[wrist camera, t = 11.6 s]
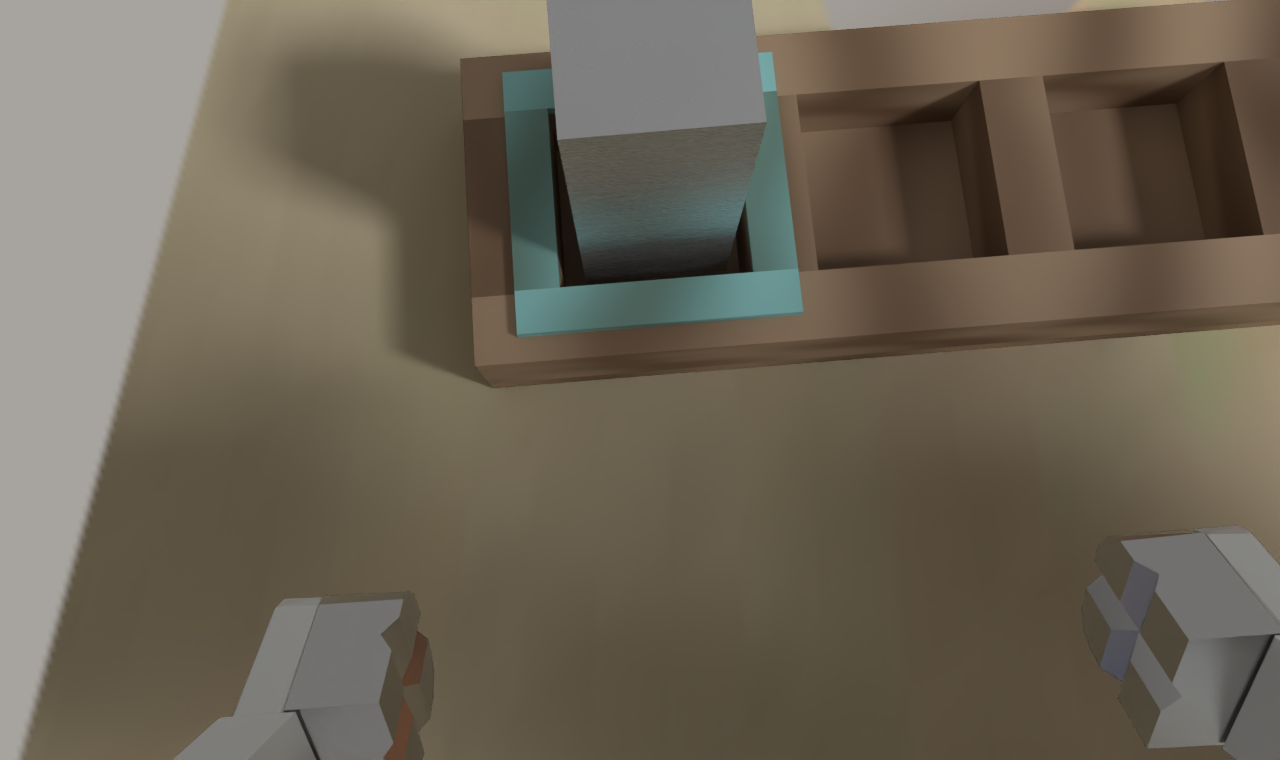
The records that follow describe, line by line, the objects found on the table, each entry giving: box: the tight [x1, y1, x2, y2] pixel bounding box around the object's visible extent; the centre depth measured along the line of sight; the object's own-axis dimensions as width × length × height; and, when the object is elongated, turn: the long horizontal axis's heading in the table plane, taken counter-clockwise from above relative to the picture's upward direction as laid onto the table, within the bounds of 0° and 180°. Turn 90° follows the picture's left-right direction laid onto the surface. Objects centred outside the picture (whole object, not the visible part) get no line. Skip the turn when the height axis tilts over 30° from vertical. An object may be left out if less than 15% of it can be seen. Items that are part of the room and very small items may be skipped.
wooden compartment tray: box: [460, 0, 1280, 388], centre depth 27 cm, size 24×9×3 cm, turn 95°
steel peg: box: [547, 0, 767, 285], centre depth 23 cm, size 4×4×10 cm
